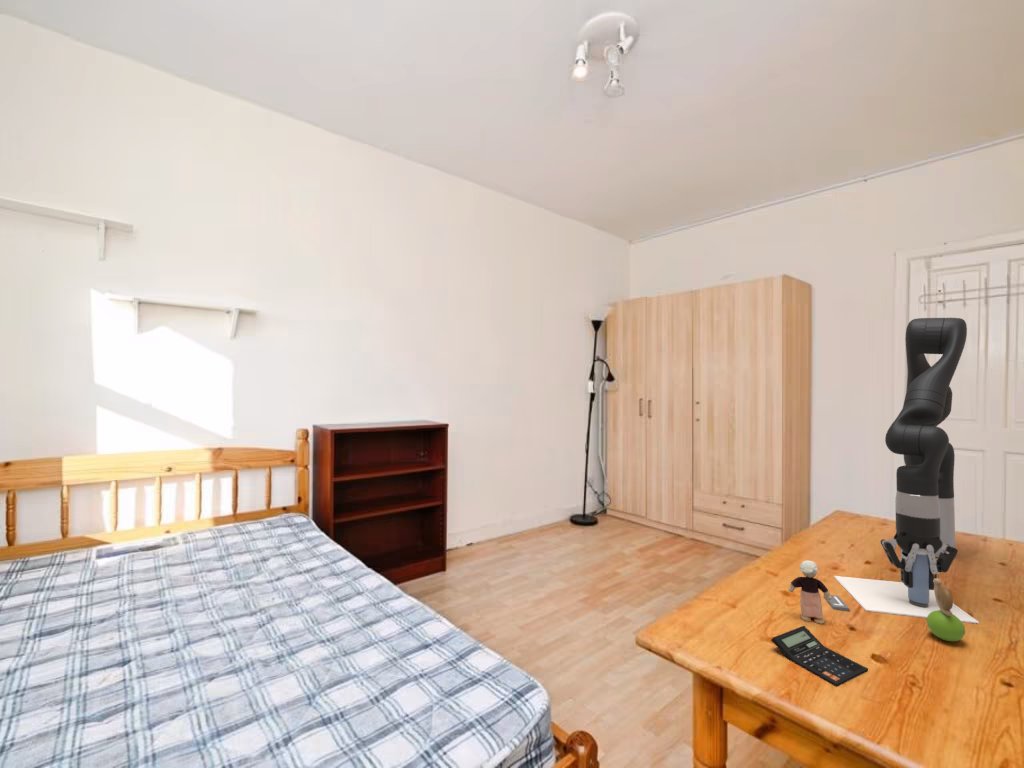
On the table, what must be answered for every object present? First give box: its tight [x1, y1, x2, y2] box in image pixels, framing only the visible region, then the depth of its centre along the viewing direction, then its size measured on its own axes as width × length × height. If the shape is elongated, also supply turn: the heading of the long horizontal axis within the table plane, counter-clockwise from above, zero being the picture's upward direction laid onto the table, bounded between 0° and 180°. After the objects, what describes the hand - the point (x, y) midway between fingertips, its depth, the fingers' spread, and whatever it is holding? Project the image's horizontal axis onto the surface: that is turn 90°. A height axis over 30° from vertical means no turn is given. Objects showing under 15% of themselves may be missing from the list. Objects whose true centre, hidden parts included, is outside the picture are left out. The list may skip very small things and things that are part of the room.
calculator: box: [771, 625, 869, 688], centre depth 81 cm, size 9×12×3 cm
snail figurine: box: [926, 572, 966, 642], centre depth 87 cm, size 5×6×12 cm
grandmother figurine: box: [788, 559, 832, 624], centre depth 95 cm, size 8×4×13 cm, turn 71°
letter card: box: [823, 594, 850, 612], centre depth 101 cm, size 6×3×1 cm, turn 162°
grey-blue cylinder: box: [908, 548, 929, 608], centre depth 100 cm, size 4×4×13 cm
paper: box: [833, 575, 980, 625], centre depth 103 cm, size 18×20×1 cm
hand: (918, 587), depth 100 cm, fingers closed on grey-blue cylinder, 3 cm apart
